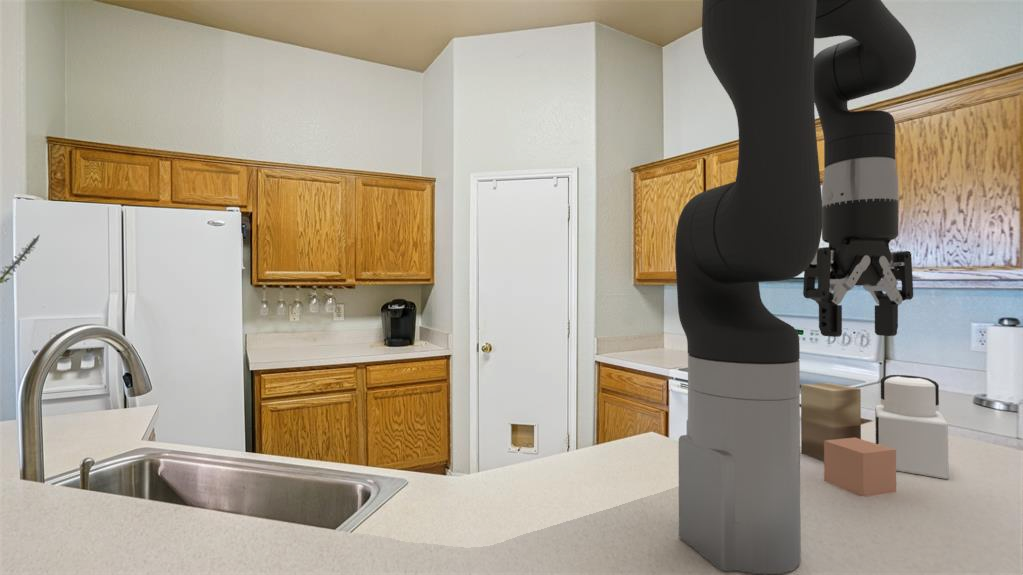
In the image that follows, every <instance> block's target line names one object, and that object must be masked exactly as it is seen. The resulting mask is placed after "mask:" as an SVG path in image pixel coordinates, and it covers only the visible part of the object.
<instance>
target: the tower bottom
mask: <svg viewBox="0 0 1023 575" xmlns="http://www.w3.org/2000/svg"><path fill="white" fill-rule="evenodd" d="M861 427H862V424H861V425H858V426H847V427H837V428H831V427H828V426H824V425H821V424H818V423H814V422H811V421H807V420H804V419H801V418H800V454H803V455H805V456H808V457H810V458H813V459H816V460H818V461H821V462H824V441H826V440H835V439H845V438H858V439H862V428H861Z"/></svg>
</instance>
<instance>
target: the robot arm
mask: <svg viewBox="0 0 1023 575" xmlns="http://www.w3.org/2000/svg"><path fill="white" fill-rule="evenodd" d="M701 10H702V13H701V14H702V15H701V16H702V17H701V36H702V39H701V40H702V47H703V51H704V55H705V57H706V60H707V62H708V64H709V66H710V68H711V70H712V72H713V73H714V75H715V76H716V78H717V80H718V81H719V83H720V85H721V86H722V87H723V89H724V90H725V93H727V96H728V98H729V99H730V100H731V102H732V106H733V107H734V111H735V115H736V119H737V126H738V157H737V158H738V159H737V170H736V178H735V181H732V182H729V183H725V184H722V185H720V186H716V187H713V188H710V189H707V190H704V191H702V192H699V193H698V194H696V195H694V196H693V197H692V198H691V199H690V200H688V202H687V203H686V204H685V206H684V207H683V209H682V211H681V213H680V215H679V218H678V221H677V225H676V230H675V231H676V232H675V241H674V242H675V243H674V245H675V246H674V250H675V251H674V254H675V278H676V293H677V297H676V298H677V308H678V310H677V311H678V317H679V321H680V325H681V327H682V330H683V331H684V335H685V338H686V342H687V434H682V435H680V436H679V438H678V537H679V538H680V539H681V540H683V541H684V542H685V543H686V544H688V545H689V546H690V547H691V548H693V549H694V550H695V551H697V552H698V553H699V554H701V556H703V557H704V558H706V559H707V560H708V561H709V562H710V563H711V564H713V565H714V566H715V567H717V569H719V570H721V571H723V572H728V571H734V570H735V571H742V572H746V573H752V574H761V575H775V574H778V575H779V574H782V573H783V574H784V573H787V572H790V571H792V570H795V569H796V568H797V567H798V566H799V565H800V563H801V560H802V559H801V558H802V555H801V554H802V550H801V549H802V546H801V542H802V539H801V531H802V530H801V522H802V521H801V520H802V519H801V514H802V513H801V384H800V382H801V381H800V378H801V377H800V374H801V373H800V368H801V367H800V358H801V357H800V336H799V332H798V330H797V329H796V328H795V327H794V326H792V325H791V324H790V323H788V322H786V321H784V320H782V319H780V318H779V317H777V316H775V315H774V314H773V313H772V312H771V311H770V310H769V309H768V308H767V307H766V306H765V305H764V303H763V300H762V298H761V292H760V291H761V290H760V283H761V282H762V283H763V282H781V281H787V280H791V279H794V278H796V277H799V275H801V274H803V289H802V290H803V292H802V295H803V297H804V298H805V299H810V300H812V301H815V303H816V304H818V328H819V329H818V330H819V331H820V334H821V335H822V336H823V337H833V338H838V337H839V338H840V337H841V336H842V334H843V306H842V305H840V304H841V302H842V301H843V299H844V297H845V296H846V294H847V293H848V292H849V291H851V290H853V288H854V287H857V286H858V287H859V286H861V287H862V288H863V289H864V290H865V291H867V292H869V293H870V295H871V296H872V298H873V300H874V301H875V303H876V305H875V304H874V333H875V335H877V336H885V337H895V336H896V335H897V334H898V330H899V329H898V328H899V305H901V304H902V303H903V302H904V301H906V300H909V301H910V300H912V299H913V298H914V281H913V258H912V253H911V251H909V250H906V251H905V250H904V251H903V250H899V251H897V250H896V251H891V249H890V242H891V241H893V240H895V239H897V238H898V237H899V176H898V170H897V166H896V165H897V164H896V122H895V118H894V116H893V115H892V114H891V113H890V112H888V111H885V110H875V109H873V110H872V109H871V110H858V111H856V110H855V111H852V110H851V111H849V108H848V102H849V101H852V100H856V99H860V98H863V97H865V96H869V95H874V94H876V93H880V92H884V91H887V90H888V91H889V90H890V89H893V88H896V87H898V86H900V85H902V84H903V83H905V81H906V80H907V79H908V78H910V76H911V74H912V72H913V71H914V68H915V66H916V60H917V50H916V45H915V43H914V40H913V38H912V36H911V35H910V33H909V32H908V30H907V29H906V28H905V26H904V25H903V24H902V23H901V22H900V21H899V20H898V18H896V16H894V14H893V13H892V12H891V11H890V9H888V8H887V7H886V5H885V4H884V3H883V1H882V0H702V8H701ZM842 36H845V37H850V39H847V40H844V41H842V42H839V43H837V44H833V45H831V46H829V47H826V48H824V49H822V50H821V51H819V52H818V53H816V55H815V39H817V40H818V39H826V38H833V37H842ZM815 109H816V111H817V114H818V118H819V121H820V125H821V130H822V133H823V134H822V135H823V140H824V141H823V144H824V146H823V147H824V148H823V150H824V152H823V154H824V155H823V156H824V159H823V161H824V162H823V163H824V164H823V166H824V168H823V169H824V170H823V179H822V184H821V173H820V163H819V152H818V142H817V139H818V138H817V130H816V129H817V128H816V127H817V126H816V117H815V115H816V114H815ZM821 239H822V241H823V242H824V243H827V244H828V246H825V247H823V246H822V247H820V243H821ZM816 280H817V288H815V287H816ZM898 280H900V281H901V289H898V288H897V285H898V284H899V283H898ZM884 292H885V293H884Z"/></svg>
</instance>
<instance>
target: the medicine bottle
mask: <svg viewBox="0 0 1023 575" xmlns="http://www.w3.org/2000/svg"><path fill="white" fill-rule="evenodd" d="M939 387H940V386H939V384H938V382H936V381H935V380H933V379H930V378H928V377H924V376H919V375H917V376H916V375H906V374H890V375H886V376H884V377H882V378H881V379H880V404H877V405H876V406H875V408H874V409H875V416H874V417H875V419H874V420H875V444H879V445H882V446H885V447H889V448H892V449H895V450H896V472H902V473H908V474H914V475H920V476H925V477H931V478H938V479H944V480H947V479H949V474H950V473H949V471H950V470H949V468H950V467H949V466H950V465H949V464H950V463H949V424H948V422H947V421H946V419H945V417H944V416H943V414H942V413H941V412H940V400H939V399H940V396H939V395H940V394H939V393H940V392H939V391H940V389H939Z"/></svg>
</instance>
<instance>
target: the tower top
mask: <svg viewBox="0 0 1023 575" xmlns="http://www.w3.org/2000/svg"><path fill="white" fill-rule="evenodd" d="M861 393H862V392H861V388H858V387H853V386H847V385H843V384H842V385H841V384H837V383H832V382H817V383H815V382H814V383H803V384H800V420H801V419H804V420H807V421H811V422H814V423H818V424H821V425H824V426H828V427H831V428H837V427H847V426H858V425H861V426H862V420H861V419H862V418H861V417H862V416H861V415H862V414H861V413H862V411H861V410H862V409H861V408H862V407H861V401H862V400H861V399H862V398H861V397H862V396H861Z"/></svg>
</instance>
